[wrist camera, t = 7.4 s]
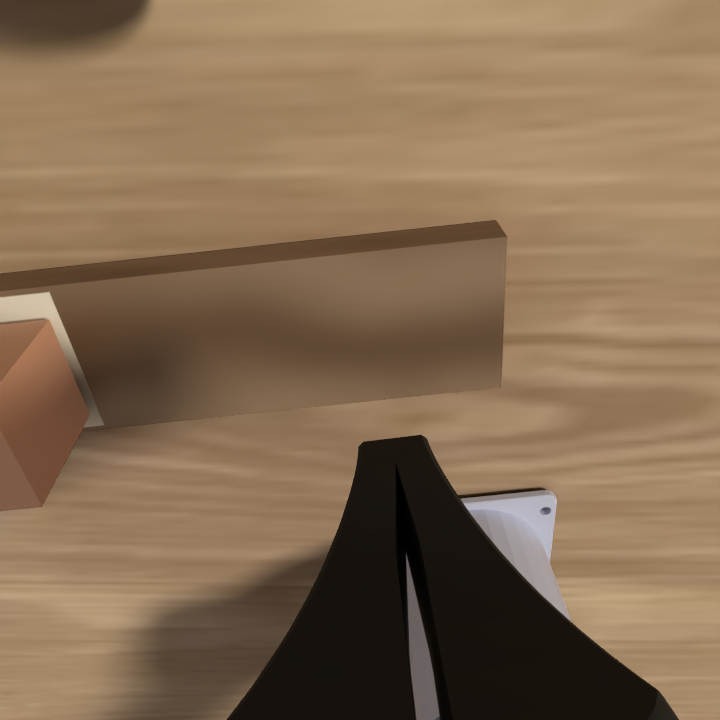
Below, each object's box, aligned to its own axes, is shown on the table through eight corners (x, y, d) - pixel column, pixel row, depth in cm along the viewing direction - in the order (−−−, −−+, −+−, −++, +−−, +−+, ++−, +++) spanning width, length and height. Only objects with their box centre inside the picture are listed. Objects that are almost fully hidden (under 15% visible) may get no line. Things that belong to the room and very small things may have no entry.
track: (492, 365, 24) (501, 388, 23) (-56, 422, 24) (-77, 448, 23) (496, 220, 21) (507, 237, 20) (-136, 288, 21) (-166, 309, 20)
